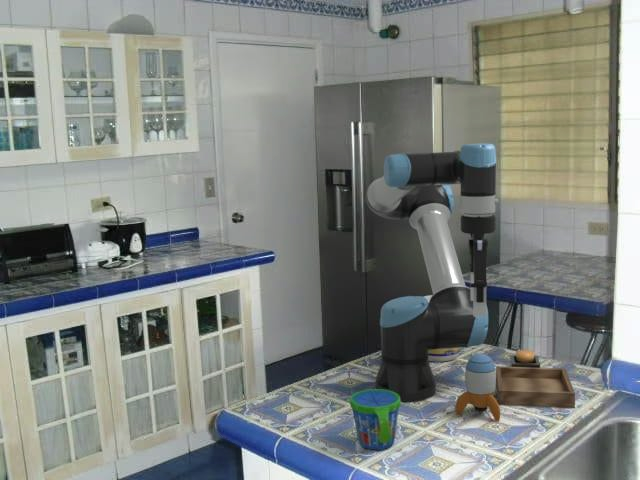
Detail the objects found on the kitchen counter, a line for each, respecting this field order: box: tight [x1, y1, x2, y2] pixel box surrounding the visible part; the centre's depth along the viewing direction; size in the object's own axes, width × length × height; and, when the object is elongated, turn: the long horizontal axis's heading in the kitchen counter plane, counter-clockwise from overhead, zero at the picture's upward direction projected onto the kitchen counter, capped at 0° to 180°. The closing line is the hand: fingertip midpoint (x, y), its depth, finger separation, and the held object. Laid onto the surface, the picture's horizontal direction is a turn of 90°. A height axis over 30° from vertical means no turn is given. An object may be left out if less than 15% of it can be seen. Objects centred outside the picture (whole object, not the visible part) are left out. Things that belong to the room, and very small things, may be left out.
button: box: [515, 349, 535, 363], centre depth 184 cm, size 5×5×2 cm
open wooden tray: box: [495, 365, 576, 409], centre depth 171 cm, size 17×17×4 cm
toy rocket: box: [454, 353, 501, 422], centre depth 159 cm, size 10×11×15 cm
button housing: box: [509, 354, 541, 368], centre depth 184 cm, size 7×7×4 cm
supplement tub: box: [423, 294, 461, 363], centre depth 200 cm, size 12×12×17 cm
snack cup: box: [349, 388, 402, 451], centre depth 147 cm, size 16×10×10 cm
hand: (478, 308), depth 158 cm, fingers open, 13 cm apart
